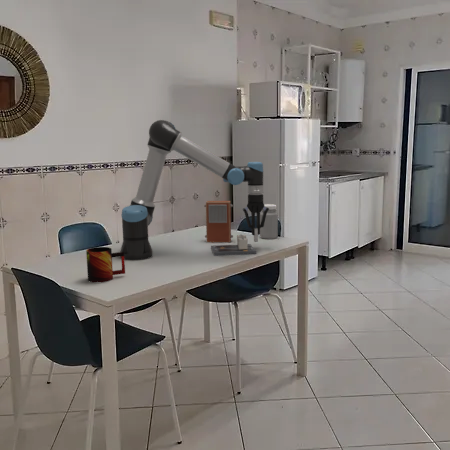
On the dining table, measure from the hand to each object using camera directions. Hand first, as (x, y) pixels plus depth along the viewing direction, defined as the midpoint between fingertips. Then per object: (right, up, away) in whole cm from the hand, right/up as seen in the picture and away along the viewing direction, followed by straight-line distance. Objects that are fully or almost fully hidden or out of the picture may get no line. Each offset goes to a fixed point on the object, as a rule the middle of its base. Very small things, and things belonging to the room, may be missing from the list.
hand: (255, 241), depth 257 cm
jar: (+9, +1, +28) cm, 29 cm away
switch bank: (-11, -5, -5) cm, 13 cm away
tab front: (-7, -3, -8) cm, 11 cm away
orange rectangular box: (-18, -1, +19) cm, 27 cm away
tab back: (-7, -2, -1) cm, 7 cm away
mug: (-63, -13, -50) cm, 81 cm away
